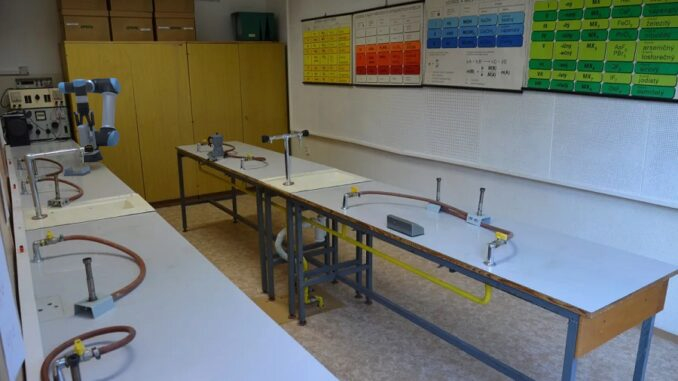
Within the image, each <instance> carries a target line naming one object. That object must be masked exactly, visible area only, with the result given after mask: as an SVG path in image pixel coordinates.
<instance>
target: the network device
mask: <svg viewBox="0 0 678 381" xmlns="http://www.w3.org/2000/svg"><path fill="white" fill-rule="evenodd" d="M92 128H93V131H92V136H90V134H89V124H88V122H86V123H83V125H80V126H77V130H78V138H79V143H80V148H81V147H85V146H87V145H92V146H93V147H94V149H96V140H95V133H94V129H95V125H94V126H92ZM99 150H100V149H99ZM99 150H93V151H95V152H92V153H91V154H86V153H85V154H84V155H92V154H95V153H97V152H99Z"/></svg>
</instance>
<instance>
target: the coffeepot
mask: <svg viewBox="0 0 678 381" xmlns="http://www.w3.org/2000/svg"><path fill="white" fill-rule="evenodd" d="M224 137H225V135H220V134H219V132H215V134H214V135H211V136H208V137H207V138H206V139H207V142H208V145H209V147H211V148H212V157H223V156H225V151H224V148H223V144H224V142H223V141H224ZM211 142H212V144H211Z"/></svg>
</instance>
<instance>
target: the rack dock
mask: <svg viewBox="0 0 678 381" xmlns="http://www.w3.org/2000/svg"><path fill="white" fill-rule="evenodd" d="M62 171H63V177H73V176H74V177H76V176H77V177H78V176H79V177H80V176H86V175H89V174H90V173H91V166H90V165H87V166H85V167H82V168H81V169H80V170H73V166H72V165H71V166H68V167H66V168H63V169H62Z"/></svg>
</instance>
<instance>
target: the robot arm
mask: <svg viewBox="0 0 678 381" xmlns="http://www.w3.org/2000/svg"><path fill="white" fill-rule="evenodd" d="M57 88H58V91H59V93H60V94H74V97H75V103H76V104H75V105H76V110H75V111H73V115H74V119H75V125H76V127H78V126H80V125H83V124H84V117H85V118H86V121H87V122H86V123H88V124H89V134H90V136H92V131H93V128H92V126H94V127H95V125H96V123H95V121H96V120H95V111H94V110H93V111H92V110H91V109H90V105H89V104H90V103H89V98H88V94H101V96H102V121H101V126H100V127H99V130H97V129H96V128H94V133H95V140H96V149H94V150H99V152H97V153H95V154H92V155H84V161H85V162H84V163H93V162H100V161H103V160H104V156H103V154H102V152H101V150H100V147H116V146H117V145H118V143H119V141H120V132H119V131H118V130H117V128H116V127H115V122H116V121H115V118H116V98H118V96H119V94H120V93H121V92H122V88H121V83H120V81H119V80H118V79H117V78H114V77H107V78H106V77H105V78H103V77H101V78H92V79H84V78H77V79H73V80H72V81H69V82H67V81H65V82H64V81H63V82H58V85H57ZM93 152H95V151H93ZM86 154H91V153H86Z"/></svg>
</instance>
